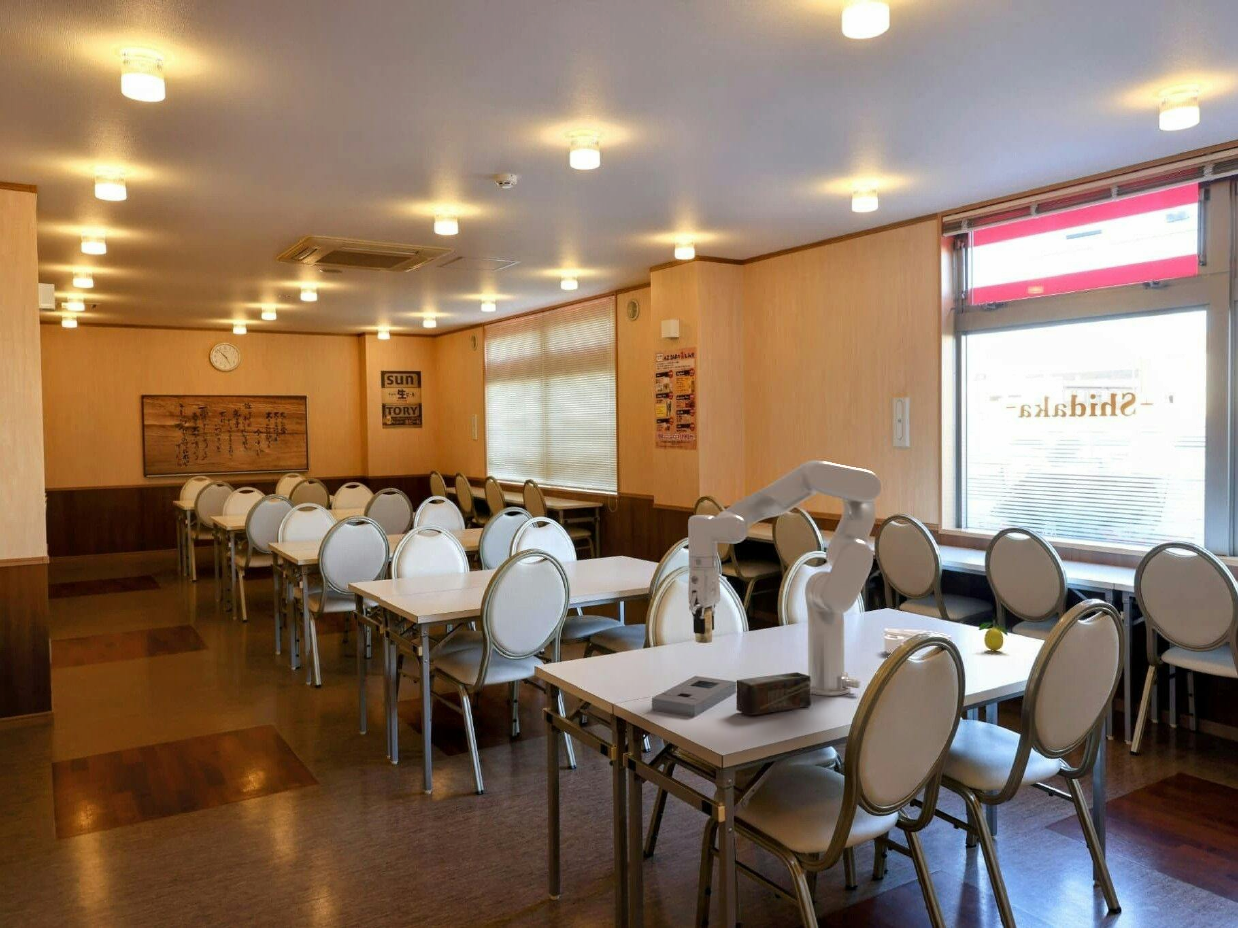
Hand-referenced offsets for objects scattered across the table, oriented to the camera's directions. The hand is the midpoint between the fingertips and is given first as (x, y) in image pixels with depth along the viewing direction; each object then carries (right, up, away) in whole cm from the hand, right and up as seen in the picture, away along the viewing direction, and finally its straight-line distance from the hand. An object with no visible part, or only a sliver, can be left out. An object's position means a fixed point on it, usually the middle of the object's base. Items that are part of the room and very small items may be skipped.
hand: (703, 630), depth 241 cm
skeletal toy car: (+68, -15, +39) cm, 80 cm away
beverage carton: (+8, -19, -16) cm, 26 cm away
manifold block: (-3, -17, -4) cm, 18 cm away
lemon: (+94, -15, +43) cm, 104 cm away
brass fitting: (0, -3, 0) cm, 3 cm away
